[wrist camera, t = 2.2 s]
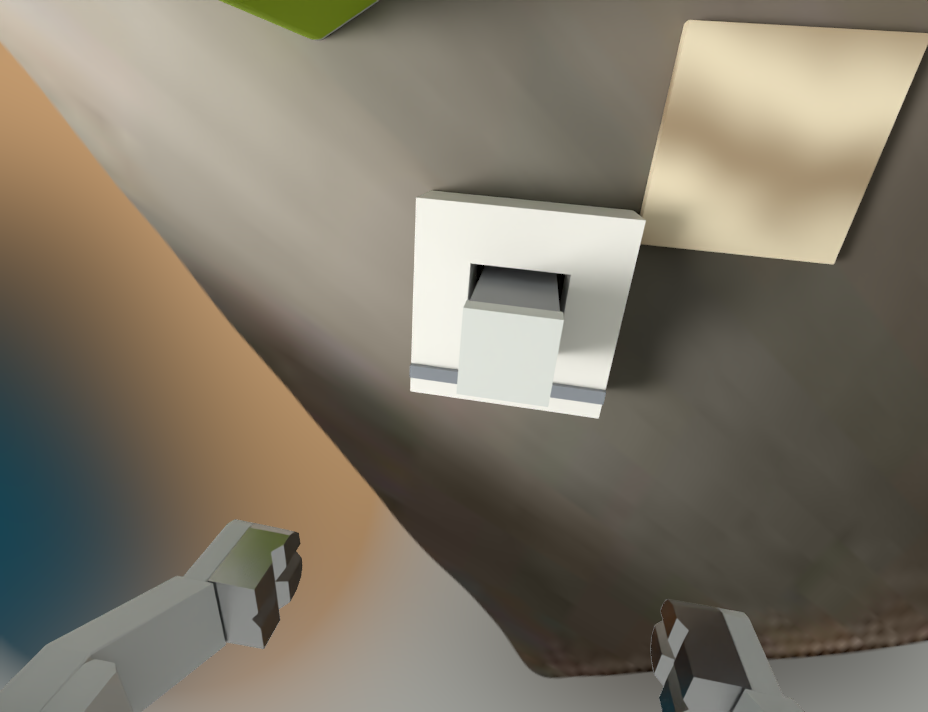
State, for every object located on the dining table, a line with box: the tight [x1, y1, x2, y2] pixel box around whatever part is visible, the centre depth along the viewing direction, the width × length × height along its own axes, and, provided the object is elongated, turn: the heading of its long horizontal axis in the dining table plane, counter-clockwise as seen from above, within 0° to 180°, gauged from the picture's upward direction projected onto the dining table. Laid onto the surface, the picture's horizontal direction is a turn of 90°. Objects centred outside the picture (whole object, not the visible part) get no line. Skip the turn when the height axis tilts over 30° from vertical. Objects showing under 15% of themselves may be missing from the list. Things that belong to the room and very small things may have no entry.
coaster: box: [640, 20, 928, 264], centre depth 23 cm, size 10×10×1 cm
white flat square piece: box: [410, 190, 646, 418], centre depth 27 cm, size 11×11×4 cm
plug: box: [456, 265, 564, 407], centre depth 24 cm, size 4×4×9 cm
